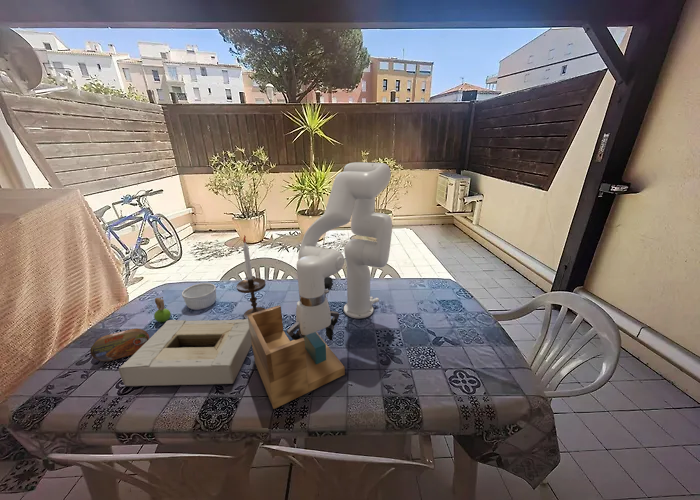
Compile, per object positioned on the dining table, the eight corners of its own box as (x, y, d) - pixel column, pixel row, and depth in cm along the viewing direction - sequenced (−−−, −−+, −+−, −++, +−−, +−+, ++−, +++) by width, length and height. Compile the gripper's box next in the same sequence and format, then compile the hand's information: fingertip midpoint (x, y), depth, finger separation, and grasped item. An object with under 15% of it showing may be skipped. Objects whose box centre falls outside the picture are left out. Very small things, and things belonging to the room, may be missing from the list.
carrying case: (300, 289, 132) (329, 291, 131) (299, 284, 131) (329, 285, 130) (305, 279, 142) (333, 281, 141) (305, 274, 141) (333, 276, 140)
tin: (94, 365, 86) (85, 343, 83) (98, 358, 89) (89, 337, 86) (151, 349, 93) (144, 329, 90) (152, 344, 96) (146, 324, 93)
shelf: (316, 338, 98) (314, 294, 92) (344, 374, 82) (344, 325, 76) (254, 362, 87) (247, 314, 81) (273, 409, 71) (266, 354, 65)
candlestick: (273, 316, 111) (263, 235, 99) (246, 326, 105) (232, 240, 93) (263, 305, 119) (253, 228, 107) (238, 313, 113) (224, 233, 101)
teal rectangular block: (314, 343, 91) (313, 328, 89) (326, 360, 84) (325, 344, 82) (304, 347, 89) (303, 332, 87) (316, 364, 82) (315, 348, 80)
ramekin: (223, 302, 121) (220, 289, 119) (192, 315, 112) (188, 300, 110) (210, 293, 130) (208, 280, 127) (180, 304, 120) (177, 290, 118)
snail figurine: (161, 327, 105) (153, 300, 100) (153, 322, 108) (145, 295, 104) (176, 320, 109) (169, 294, 105) (167, 315, 112) (160, 290, 108)
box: (258, 333, 101) (170, 335, 100) (255, 316, 98) (165, 317, 97) (236, 385, 79) (123, 388, 78) (232, 365, 77) (115, 367, 75)
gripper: (332, 284, 87) (334, 327, 93) (279, 300, 79) (285, 347, 85) (344, 294, 81) (345, 340, 87) (288, 312, 73) (294, 362, 79)
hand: (315, 343), depth 86 cm, fingers open, 9 cm apart
